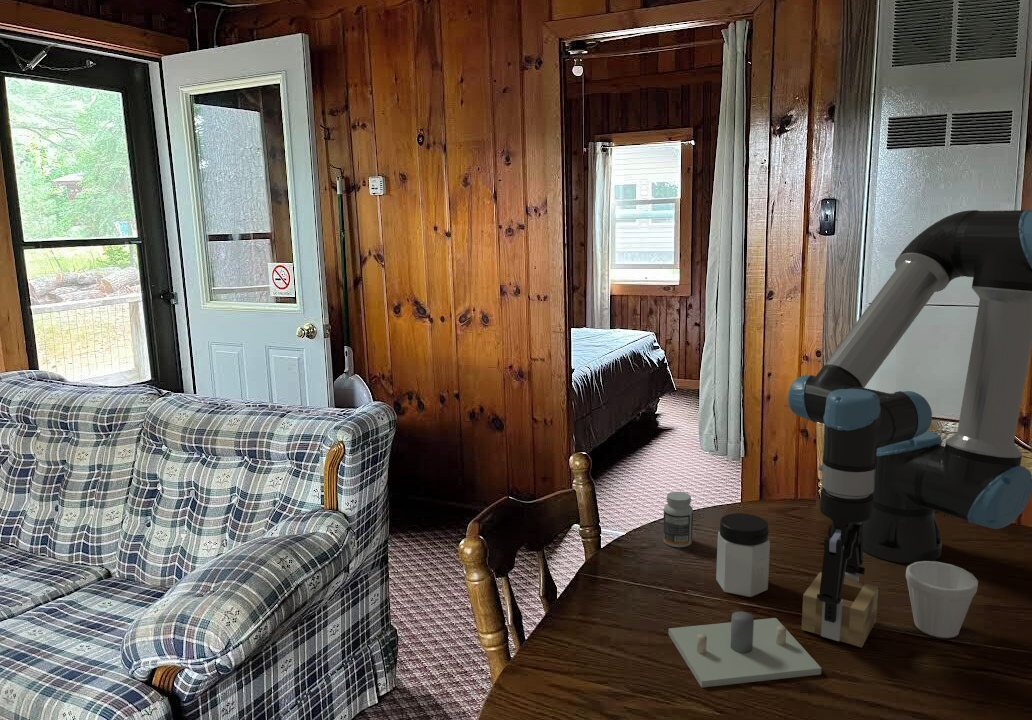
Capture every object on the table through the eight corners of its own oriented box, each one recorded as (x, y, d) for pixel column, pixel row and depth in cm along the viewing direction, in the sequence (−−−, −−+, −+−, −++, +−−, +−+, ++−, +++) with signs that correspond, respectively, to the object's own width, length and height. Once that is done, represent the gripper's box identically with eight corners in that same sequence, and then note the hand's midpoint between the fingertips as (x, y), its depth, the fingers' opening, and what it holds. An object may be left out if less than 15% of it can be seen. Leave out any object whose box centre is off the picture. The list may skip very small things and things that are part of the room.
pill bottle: (670, 534, 160) (671, 488, 158) (696, 540, 157) (698, 494, 155) (658, 544, 156) (659, 497, 154) (685, 551, 153) (686, 503, 151)
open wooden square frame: (818, 605, 131) (820, 572, 129) (876, 621, 125) (878, 586, 124) (801, 629, 124) (803, 594, 122) (861, 647, 118) (864, 611, 117)
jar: (742, 602, 133) (745, 536, 130) (706, 583, 140) (708, 520, 137) (777, 587, 138) (780, 523, 135) (740, 569, 144) (743, 508, 142)
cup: (887, 621, 126) (891, 568, 124) (931, 607, 130) (936, 555, 128) (942, 653, 117) (947, 596, 115) (987, 637, 121) (993, 582, 119)
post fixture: (775, 623, 126) (777, 589, 125) (821, 674, 112) (823, 636, 111) (668, 634, 124) (669, 599, 122) (701, 687, 110) (702, 649, 109)
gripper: (840, 465, 130) (833, 588, 135) (800, 508, 113) (793, 648, 118) (889, 473, 126) (880, 601, 131) (854, 520, 109) (845, 664, 114)
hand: (839, 623), depth 124 cm, fingers closed on open wooden square frame, 9 cm apart
